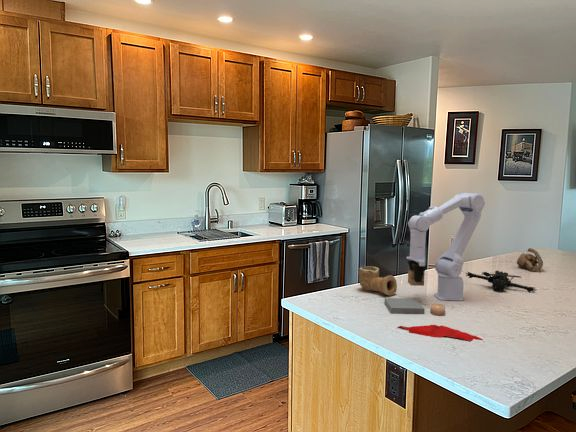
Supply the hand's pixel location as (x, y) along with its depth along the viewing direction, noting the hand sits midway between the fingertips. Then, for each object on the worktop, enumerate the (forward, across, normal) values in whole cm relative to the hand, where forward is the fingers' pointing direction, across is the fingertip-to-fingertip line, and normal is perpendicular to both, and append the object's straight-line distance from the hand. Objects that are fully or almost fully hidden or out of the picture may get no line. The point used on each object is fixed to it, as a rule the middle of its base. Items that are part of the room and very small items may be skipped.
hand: (416, 280), depth 169 cm
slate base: (+8, +10, -7) cm, 15 cm away
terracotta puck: (+8, +15, +4) cm, 18 cm away
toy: (+9, -27, +46) cm, 54 cm away
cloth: (+9, +34, -1) cm, 35 cm away
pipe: (+9, -11, -14) cm, 20 cm away
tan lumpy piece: (+9, -60, +76) cm, 97 cm away
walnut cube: (+2, 0, 0) cm, 2 cm away
